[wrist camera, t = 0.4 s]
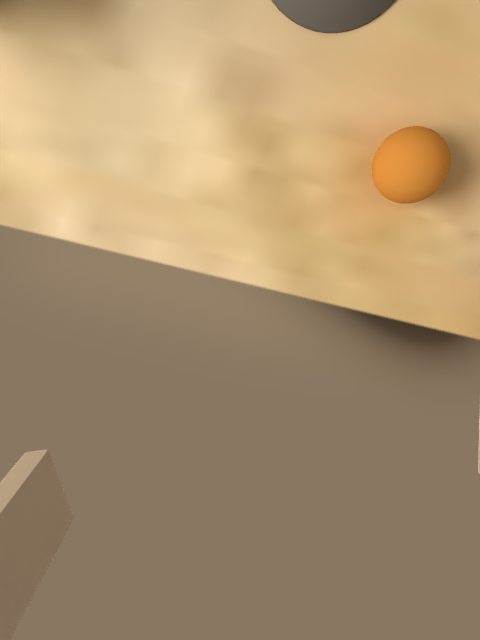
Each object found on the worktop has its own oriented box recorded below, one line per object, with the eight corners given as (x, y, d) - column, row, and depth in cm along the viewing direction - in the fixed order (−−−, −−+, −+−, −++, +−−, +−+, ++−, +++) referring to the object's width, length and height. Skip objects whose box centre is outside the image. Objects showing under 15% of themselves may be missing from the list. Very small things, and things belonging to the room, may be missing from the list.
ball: (375, 124, 33) (398, 114, 28) (441, 138, 33) (476, 131, 28) (355, 194, 35) (374, 197, 29) (418, 207, 35) (447, 212, 30)
